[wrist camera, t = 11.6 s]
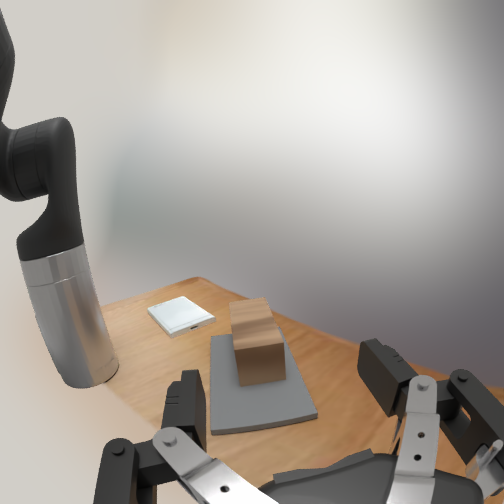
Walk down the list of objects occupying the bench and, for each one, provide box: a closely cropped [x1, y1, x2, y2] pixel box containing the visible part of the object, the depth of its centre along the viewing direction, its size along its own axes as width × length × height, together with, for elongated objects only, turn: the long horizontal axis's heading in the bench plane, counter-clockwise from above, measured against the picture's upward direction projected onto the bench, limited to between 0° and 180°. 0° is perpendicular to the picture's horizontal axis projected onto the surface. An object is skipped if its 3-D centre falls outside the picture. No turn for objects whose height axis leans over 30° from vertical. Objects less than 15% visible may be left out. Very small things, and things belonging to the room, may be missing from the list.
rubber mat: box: [210, 327, 318, 435], centre depth 31 cm, size 18×10×1 cm, turn 6°
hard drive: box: [147, 296, 216, 338], centre depth 48 cm, size 2×8×12 cm
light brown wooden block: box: [229, 297, 286, 387], centre depth 33 cm, size 5×5×12 cm
